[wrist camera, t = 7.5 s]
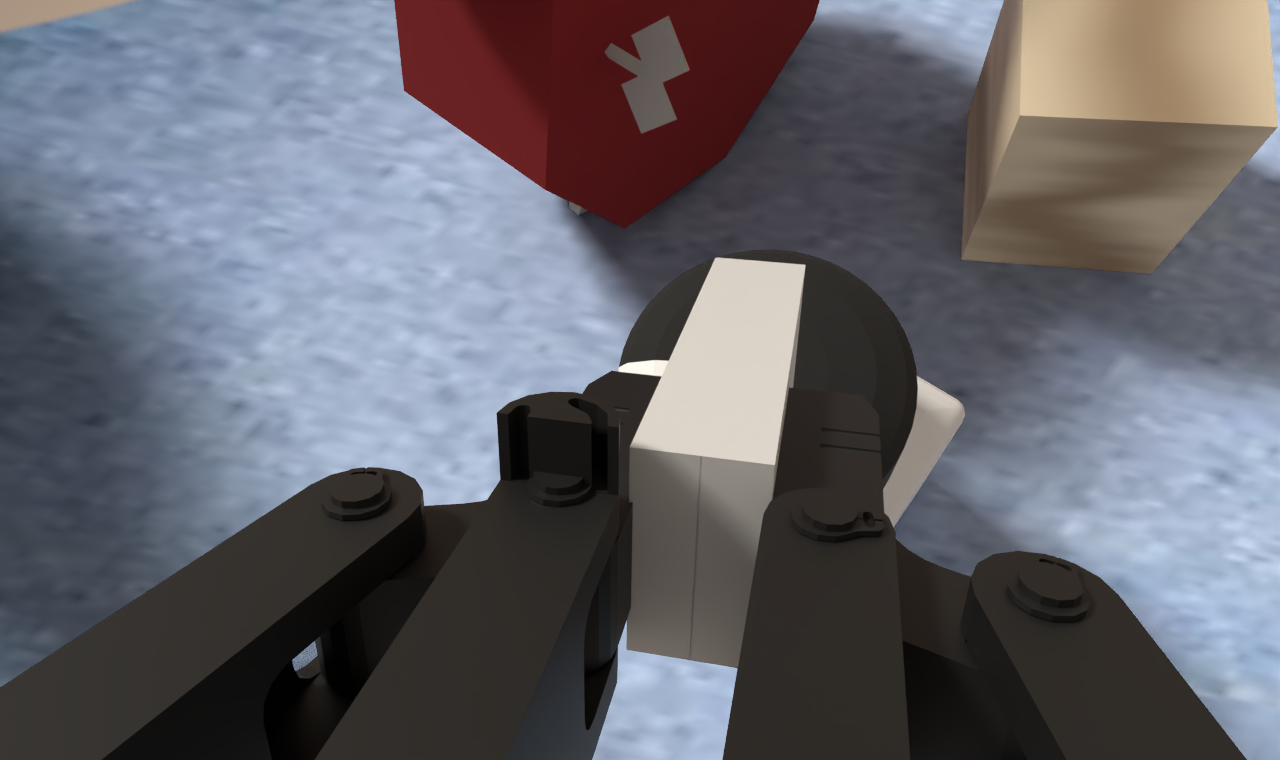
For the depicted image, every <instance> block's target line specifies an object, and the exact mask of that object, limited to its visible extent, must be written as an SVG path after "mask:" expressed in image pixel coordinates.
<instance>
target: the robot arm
mask: <svg viewBox="0 0 1280 760" xmlns="http://www.w3.org/2000/svg"><path fill="white" fill-rule="evenodd" d="M805 266H806V265H802V264H790V263H778V262H766V261H754V260H742V259H730V258H717V257H716V258H715V260H714V262H713V264H712V267H711V269H710V271H709V273H708V275H707V278H706V280H705V282H704V284H703V286H702V289H701V291H700V293H699V295H698V297H697V300H696V302H695V304H694V306H693V309H692V311H691V313H690V315H689V317H688V320H687V322H686V324H685V326H684V328H683V331H682V333H681V335H680V337H679V339H678V342H677V344H676V346H675V348H674V350H673V353H672V355H671V357H670V359H669V361H668V364H667V366H666V368H665V370H664V373H663V375H662V376H653V375H644V374H635V373H626V372H616V371H611V372H609V373H607V374H606V375H604V376H602V377H600V378H599V379H597V380H595V381H594V382H592V383H590V384H589V385H588V386H587V387H586V389H585V391H584V392H583V394H580V393H575V392H547V393H541V394H535V395H528V396H526V397H523V398H520V399H518V400H515V401H513V402H510V403H508V404H507V405H506V406H505V407H503V408H502V409H501V410H500V411H498V412H497V425H498V443H499V460H500V477H501V480H500V481H499V483H498V485H497V486H496V488H495V489H494V491H493V492H492V494H491V495H490V497H489V498H488V500H485V501H481V502H473V503H465V504H451V505H434V506H424V500H423V490H422V489H421V487H420V486H419V484H418V483H417V481H416V480H415V479H414V478H412V477H410V476H408V475H406V474H404V473H402V472H400V471H395V470H389V469H383V468H370V467H368V468H356V469H351V470H349V471H345V472H341V473H337V474H333V475H330V476H328V477H326V478H324V479H322V480H320V481H318V482H316V483H314V484H311V485H310V486H308V487H307V488H305V489H304V490H302V491H301V492H299V493H297V494H296V495H294V496H293V497H291V498H290V499H288V500H287V501H285V502H284V503H282V504H281V505H279V506H278V507H276V508H274V509H273V510H271V511H270V512H268V513H267V514H265V515H264V516H262V517H261V518H259V519H258V520H256V521H255V522H253V523H252V524H250V525H248V526H247V527H245V528H244V529H242V530H241V531H239V532H238V533H236V534H235V535H233V536H232V537H230V538H229V539H227V540H225V541H224V542H222V543H221V544H219V545H218V546H216V547H215V548H213V549H212V550H210V551H209V552H207V553H206V554H204V555H203V556H201V557H199V558H198V559H196V560H195V561H193V562H192V563H190V564H189V565H187V566H186V567H184V568H183V569H181V570H180V571H178V572H176V573H175V574H173V575H172V576H170V577H169V578H167V579H166V580H164V581H163V582H161V583H160V584H158V585H157V586H155V587H154V588H152V589H150V590H149V591H147V592H146V593H144V594H143V595H141V596H140V597H138V598H137V599H135V600H134V601H132V602H131V603H129V604H127V605H126V606H124V607H123V608H121V609H120V610H118V611H117V612H115V613H114V614H112V615H111V616H109V617H108V618H106V619H105V620H103V621H101V622H100V623H98V624H97V625H95V626H94V627H92V628H91V629H89V630H88V631H86V632H85V633H83V634H82V635H80V636H78V637H77V638H75V639H74V640H72V641H71V642H69V643H68V644H66V645H65V646H63V647H62V648H60V649H59V650H57V651H55V652H54V653H52V654H51V655H49V656H48V657H46V658H45V659H43V660H42V661H40V662H39V663H37V664H36V665H34V666H33V667H31V668H29V669H28V670H26V671H25V672H23V673H22V674H20V675H19V676H17V677H16V678H14V679H13V680H11V681H10V682H8V683H6V684H5V685H3V686H2V687H0V760H592V758H593V755H594V752H595V749H596V746H597V743H598V740H599V736H600V733H601V730H602V727H603V724H604V721H605V718H606V715H607V711H608V708H609V705H610V702H611V699H612V696H613V693H614V690H615V687H616V683H617V668H618V644H619V641H620V638H621V635H622V632H623V629H624V626H625V623H626V620H627V650H633V651H639V652H645V653H651V654H657V655H663V656H669V657H675V658H681V659H687V660H693V661H699V662H705V663H711V664H717V665H723V666H729V667H735V668H738V670H737V676H736V682H735V688H734V694H733V700H732V706H731V712H730V718H729V724H728V730H727V736H726V743H725V749H724V755H723V760H1247V759H1246V758H1245V757H1244V756H1243V754H1242V753H1241V752H1240V750H1239V749H1238V748H1237V747H1236V745H1235V744H1234V743H1233V741H1232V740H1231V739H1230V738H1229V736H1228V735H1227V734H1226V732H1225V731H1224V730H1223V729H1222V727H1221V726H1220V725H1219V723H1218V722H1217V721H1216V720H1215V718H1214V717H1213V716H1212V714H1211V713H1210V712H1209V711H1208V709H1207V708H1206V707H1205V705H1204V704H1203V703H1202V702H1201V700H1200V699H1199V698H1198V696H1197V695H1196V694H1195V693H1194V691H1193V690H1192V689H1191V687H1190V686H1189V685H1188V684H1187V682H1186V681H1185V680H1184V678H1183V677H1182V676H1181V675H1180V673H1179V672H1178V671H1177V670H1176V668H1175V667H1174V666H1173V664H1172V663H1171V662H1170V661H1169V659H1168V658H1167V657H1166V655H1165V654H1164V653H1163V652H1162V650H1161V649H1160V648H1159V646H1158V645H1157V644H1156V643H1155V641H1154V640H1153V639H1152V637H1151V636H1150V635H1149V634H1148V632H1147V631H1146V630H1145V628H1144V627H1143V626H1142V625H1141V623H1140V622H1139V621H1138V619H1137V618H1136V617H1135V616H1134V614H1133V613H1132V612H1131V610H1130V609H1129V608H1128V607H1127V605H1126V604H1125V603H1124V601H1123V600H1122V599H1121V598H1120V596H1119V595H1118V594H1117V593H1116V592H1115V591H1114V590H1113V589H1111V588H1110V587H1109V586H1108V585H1107V584H1106V583H1105V582H1104V581H1103V580H1102V579H1101V578H1100V577H1098V576H1096V575H1094V574H1092V573H1091V572H1089V571H1087V570H1085V569H1083V568H1081V567H1080V566H1078V565H1076V564H1074V563H1071V562H1069V561H1066V560H1063V559H1061V558H1056V557H1054V556H1050V555H1046V554H1039V553H1030V552H1021V551H1015V552H1007V553H1000V554H994V555H992V556H990V557H988V558H986V559H985V560H983V561H981V562H979V563H977V565H976V568H975V570H974V572H973V574H972V576H971V577H969V576H966V575H963V574H960V573H957V572H954V571H951V570H948V569H946V568H943V567H940V566H938V565H936V564H933V563H931V562H929V561H926V560H924V559H922V558H921V557H919V556H917V555H916V554H914V553H912V552H911V551H909V550H908V549H906V548H905V547H904V546H903V545H902V544H901V543H900V542H898V541H897V540H896V539H895V531H894V528H893V526H892V523H891V521H890V518H889V517H888V516H887V515H886V514H885V513H884V499H883V480H882V462H881V455H880V454H881V444H880V426H879V414H878V413H877V412H876V411H875V409H874V408H873V407H872V406H871V405H870V404H869V403H868V401H867V400H866V399H865V398H864V397H863V396H862V395H854V394H844V393H835V392H826V391H817V390H807V389H798V388H793V383H794V373H795V363H796V353H797V344H798V334H799V324H800V314H801V305H802V295H803V285H804V276H805ZM314 641H315V643H316V648H317V654H318V656H317V657H316V658H314V659H313V660H312V661H311V662H310V663H309V664H308V665H306V666H305V667H303V668H301V669H299V670H297V671H295V670H294V668H293V663H292V659H294V658H295V657H296V656H297V655H298V654H299V653H301V652H302V651H303V650H304V649H305V648H307V647H308V646H309V645H310V644H311V643H312V642H314Z"/></svg>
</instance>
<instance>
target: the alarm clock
mask: <svg viewBox="0 0 1280 760" xmlns="http://www.w3.org/2000/svg"><path fill="white" fill-rule="evenodd" d="M394 1H395V10H396V19H397V29H398V38H399V47H400V57H401V66H402V75H403V85H404V91H405V92H407V93H408V94H410V95H411V96H412V97H414V98H415V99H417V100H418V101H420V102H421V103H422V104H424V105H425V106H427V107H428V108H429V109H431V110H432V111H434V112H435V113H437V114H438V115H439V116H441V117H442V118H444V119H445V120H447V121H448V122H449V123H451V124H452V125H454V126H455V127H457V128H458V129H459V130H461V131H462V132H464V133H465V134H467V135H468V136H469V137H471V138H472V139H474V140H475V141H477V142H478V143H479V144H481V145H482V146H484V147H485V148H487V149H488V150H489V151H491V152H492V153H494V154H495V155H496V156H498V157H499V158H501V159H502V160H504V161H505V162H506V163H508V164H509V165H511V166H512V167H514V168H515V169H516V170H518V171H519V172H521V173H522V174H524V175H525V176H526V177H528V178H529V179H531V180H532V181H534V182H535V183H536V184H538V185H539V186H541V187H542V188H544V189H545V190H547V191H549V192H551V193H553V194H555V195H557V196H559V197H561V198H563V199H565V200H568V201H569V209H571V210H572V211H574V212H575V213H576V214H578V215H580V214H582V213H585V212H587V210H588V211H590V212H592V213H594V214H596V215H598V216H601V217H603V218H605V219H607V220H609V221H611V222H613V223H615V224H617V225H619V226H621V227H623V228H626V227H628V226H629V225H630V224H632V223H633V222H635V221H636V220H637V219H639V218H640V217H642V216H643V215H644V214H646V213H647V212H649V211H650V210H651V209H653V208H654V207H656V206H657V205H658V204H660V203H661V202H663V201H664V200H666V199H667V198H668V197H670V196H671V195H673V194H674V193H675V192H677V191H678V190H680V189H681V188H682V187H684V186H685V185H687V184H688V183H689V182H691V181H692V180H694V179H695V178H696V177H698V176H699V175H701V174H702V173H703V172H705V171H706V170H708V169H709V168H711V167H712V166H713V165H715V164H716V163H718V162H719V161H720V160H722V159H723V158H725V157H726V155H727V154H728V152H729V151H730V149H731V148H732V146H733V144H734V143H735V141H736V140H737V138H738V137H739V135H740V134H741V132H742V130H743V129H744V127H745V126H746V124H747V123H748V121H749V120H750V118H751V117H752V115H753V113H754V112H755V110H756V109H757V107H758V106H759V104H760V103H761V101H762V99H763V98H764V96H765V95H766V93H767V92H768V90H769V89H770V87H771V85H772V84H773V82H774V81H775V79H776V78H777V76H778V75H779V73H780V72H781V70H782V68H783V67H784V65H785V64H786V62H787V61H788V59H789V58H790V56H791V54H792V53H793V51H794V50H795V48H796V47H797V45H798V44H799V42H800V41H801V39H802V37H803V36H804V34H805V33H806V31H807V30H808V28H809V27H810V25H811V23H812V22H813V20H814V17H815V14H816V11H817V7H818V4H819V0H394Z"/></svg>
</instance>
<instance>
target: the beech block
mask: <svg viewBox="0 0 1280 760" xmlns="http://www.w3.org/2000/svg"><path fill="white" fill-rule="evenodd" d="M1277 127H1278V124H1277V111H1276V99H1275V87H1274V74H1273V62H1272V50H1271V38H1270V25H1269V13H1268V1H1267V0H1004V2H1003V5H1002V9H1001V12H1000V15H999V18H998V21H997V24H996V27H995V30H994V34H993V37H992V40H991V43H990V46H989V49H988V52H987V56H986V59H985V62H984V65H983V68H982V71H981V74H980V77H979V81H978V84H977V87H976V90H975V93H974V96H973V99H972V102H971V106H970V109H969V112H968V128H967V148H966V168H965V188H964V208H963V228H962V248H961V260H972V261H985V262H999V263H1012V264H1026V265H1039V266H1053V267H1066V268H1080V269H1093V270H1107V271H1120V272H1133V273H1147V274H1152V273H1153V272H1154V271H1155V269H1156V268H1157V267H1158V266H1159V265H1160V264H1161V262H1162V261H1163V260H1164V259H1165V258H1166V257H1167V255H1168V254H1169V253H1170V252H1171V251H1172V250H1173V248H1174V247H1175V246H1176V245H1177V244H1178V243H1179V242H1180V240H1181V239H1182V238H1183V237H1184V236H1185V235H1186V233H1187V232H1188V231H1189V230H1190V229H1191V228H1192V226H1193V225H1194V224H1195V223H1196V222H1197V221H1198V219H1199V218H1200V217H1201V216H1202V215H1203V214H1204V212H1205V211H1206V210H1207V209H1208V208H1209V207H1210V205H1211V204H1212V203H1213V202H1214V201H1215V200H1216V198H1217V197H1218V196H1219V195H1220V194H1221V193H1222V191H1223V190H1224V189H1225V188H1226V187H1227V186H1228V184H1229V183H1230V182H1231V181H1232V180H1233V179H1234V177H1235V176H1236V175H1237V174H1238V173H1239V172H1240V170H1241V169H1242V168H1243V167H1244V166H1245V165H1246V163H1247V162H1248V161H1249V160H1250V159H1251V158H1252V156H1253V155H1254V154H1255V153H1256V152H1257V151H1258V149H1259V148H1260V147H1261V146H1262V145H1263V144H1264V142H1265V141H1266V140H1267V139H1268V138H1269V137H1270V135H1271V134H1272V133H1273V132H1274V131H1275V130H1276V128H1277Z"/></svg>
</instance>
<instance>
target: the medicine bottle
mask: <svg viewBox="0 0 1280 760" xmlns="http://www.w3.org/2000/svg"><path fill="white" fill-rule="evenodd" d="M719 258H730V259H742V260H754V261H766V262H778V263H790V264H802V265H806V266H805V276H804V285H803V295H802V305H801V314H800V324H799V334H798V344H797V353H796V363H795V373H794V383H793V388H798V389H807V390H817V391H826V392H835V393H844V394H854V395H862V396H863V397H864V398H865V399H866V400H867V401H868V403H869V404H870V405H871V406H872V407H873V408H874V409H875V411H876V412H877V413H878V414H879V426H880V444H881V454H880V455H881V462H882V480H883V499H884V513H885V514H886V515H887V516H888V517H889V518H890V521H891V523H892V526H893V528H894V526H895V525H896V523H897V522H898V520H899V519H900V517H901V516H902V514H903V513H904V511H905V510H906V508H907V507H908V505H909V504H910V502H911V501H912V500H913V498H914V497H915V495H916V494H917V492H918V491H919V489H920V488H921V486H922V485H923V483H924V482H925V480H926V478H927V477H928V475H929V474H930V472H931V471H932V469H933V467H934V466H935V464H936V463H937V461H938V460H939V458H940V456H941V455H942V453H943V452H944V450H945V449H946V447H947V446H948V444H949V442H950V441H951V439H952V438H953V436H954V435H955V433H956V431H957V430H958V428H959V427H960V425H961V424H962V422H963V420H964V417H965V411H964V407H963V404H962V403H961V402H959V401H958V400H957V399H956V398H954V397H952V396H950V395H949V394H947V393H945V392H944V391H942V390H940V389H939V388H937V387H935V386H934V385H932V384H930V383H929V382H927V381H925V380H924V379H922V378H920V377H918V376H917V373H916V366H915V362H914V358H913V354H912V350H911V347H910V344H909V342H908V339H907V337H906V335H905V332H904V330H903V328H902V327H901V325H900V323H899V322H898V320H897V318H896V317H895V315H894V313H893V312H892V311H891V309H890V308H889V307H888V306H887V305H886V303H885V302H884V301H883V300H882V298H881V297H880V296H879V295H878V294H876V293H875V292H874V291H873V290H872V289H871V288H870V287H869V286H868V285H867V284H865V283H864V282H863V281H861V280H860V279H858V278H857V277H856V276H854V275H853V274H851V273H850V272H848V271H846V270H844V269H842V268H840V267H838V266H837V265H835V264H833V263H830V262H827V261H825V260H822V259H819V258H817V257H814V256H810V255H805V254H801V253H797V252H790V251H781V250H753V251H746V252H739V253H734V254H730V255H726V256H723V257H719ZM714 260H715V259H713V260H711V261H708V262H706V263H703V264H701V265H698V266H697V267H695V268H693V269H691V270H689V271H688V272H686V273H684V274H682V275H681V276H679V277H678V278H677V279H675V280H674V281H673V282H671V283H670V284H669V285H667V286H666V287H665V288H664V289H663V290H662V291H661V292H660V293H659V294H658V295H657V296H656V297H655V298H654V299H653V300H652V301H651V302H650V303H649V305H648V306H647V307H646V308H645V310H644V311H643V312H642V314H641V315H640V316H639V318H638V320H637V322H636V323H635V325H634V327H633V328H632V330H631V332H630V334H629V337H628V339H627V342H626V344H625V346H624V349H623V353H622V357H621V361H620V365H619V370H618V372H626V373H635V374H644V375H653V376H662V375H663V373H664V370H665V368H666V366H667V364H668V361H669V359H670V357H671V355H672V353H673V350H674V348H675V346H676V344H677V342H678V339H679V337H680V335H681V333H682V331H683V328H684V326H685V324H686V322H687V320H688V317H689V315H690V313H691V311H692V309H693V306H694V304H695V302H696V300H697V297H698V295H699V293H700V291H701V289H702V286H703V284H704V282H705V280H706V278H707V275H708V273H709V271H710V269H711V267H712V264H713V262H714Z"/></svg>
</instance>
